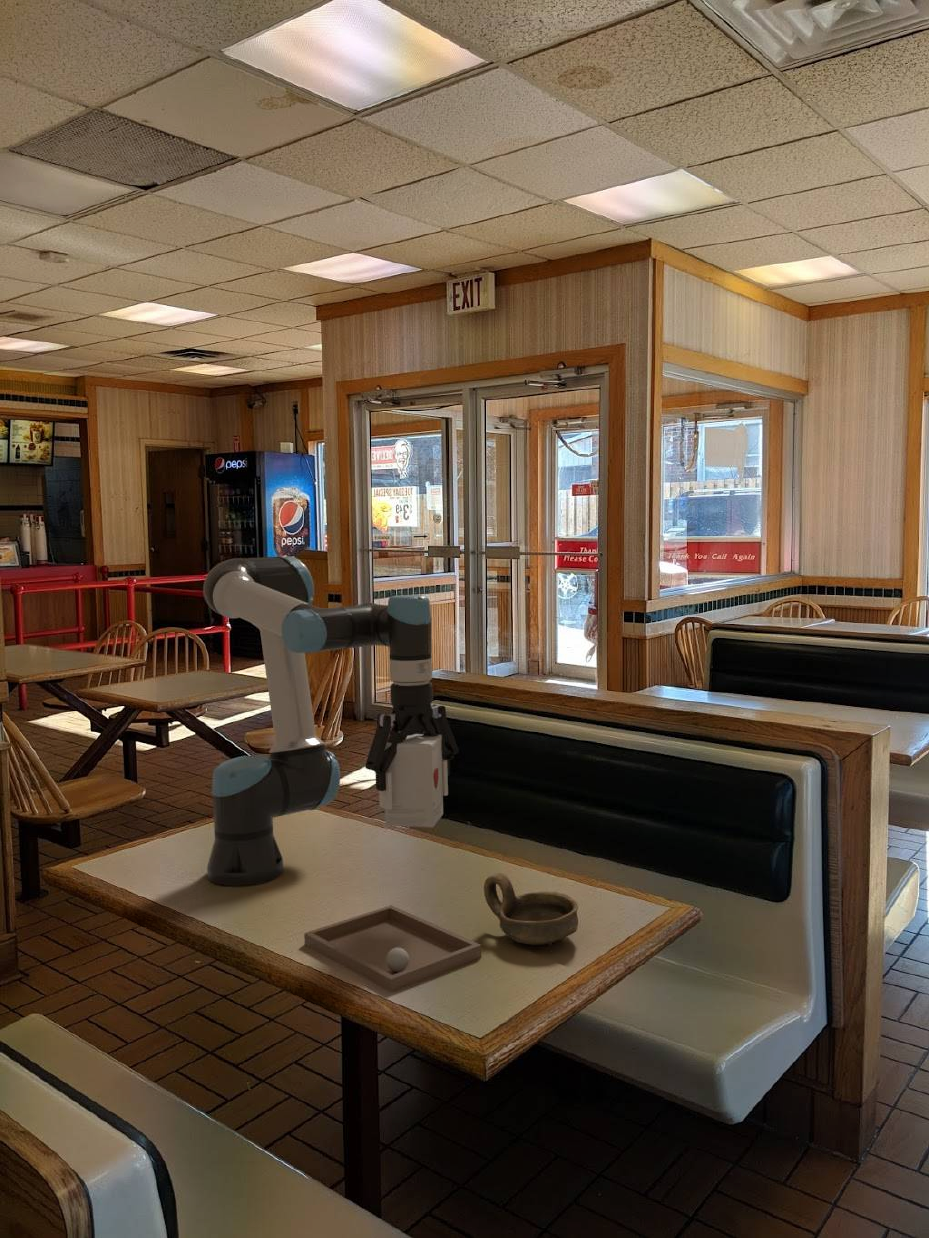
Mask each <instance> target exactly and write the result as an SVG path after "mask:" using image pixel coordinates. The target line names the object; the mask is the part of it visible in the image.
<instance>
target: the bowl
mask: <svg viewBox="0 0 929 1238" xmlns="http://www.w3.org/2000/svg"><path fill="white" fill-rule="evenodd" d="M497 885H498V886H499V888H500V891H501V895H502V900H500V897H499V895H498V892H497ZM483 894H484V898H485V900H486V903H487V905H488V907H489V909H490V910H491V911H492V913H493V914H494V915H495V916H496V917H497V918H498V920H499V927H500V930H501V931H502V932H504V934H505V935H506V936H507V937H508V938H510V939H511V940H513V941H514V942H516V943H521V944H524V945H525V944H526V945H533V946H534V945H536V946H537V945H538V946H541V945H542V946H543V945H550V946H551V945H552V944H553V943H555V942H557V941H559V940H562V939H565V938H567V937H569V936H572V935H573V934H575V933H576V932H577V930H578V925H579V917H578V908H579V904H578V902H577V901H576V900H575V899H573V898H572V897H571V896H569V895H568V894H565V893H560V892H556V891H536V892H530V893H529V892H528V893H527V892H526V893H524V894H521V895H517V896H516V894H515V890H514V887H513V884H512V882H511V880H510V878H509V876H507V875H506V874H504V873H502V872H495V873H493V874H492V875H489V876H488V877H487V878H486V879H485V881H484V885H483Z"/></svg>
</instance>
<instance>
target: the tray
mask: <svg viewBox="0 0 929 1238" xmlns="http://www.w3.org/2000/svg"><path fill="white" fill-rule="evenodd" d="M303 933H304V936H303V937H304V946H307V947H309V948H310V949H312V950H314V951H316V952H317V953H320V954H322V955H324V956H325V957H327V958H328V959H330V960H332V961H334V962H336V963H338V964H340V965H342V966H343V967H345V968H347V969H348V970H351V971H352V972H354V973H356V974H358V975H359V976H362V977H363V978H365V979H366V980H369V981H370V982H373V983H374V984H376V985H378V986H380V987H381V988H383V989H385V990H387V991H389V992H390V993H391V992H392V993H393V992H395V991H397V990H400V989H402V988H405V987H409V986H410V985H413V984H416V983H418V982H420V981H423V980H425V979H429V978H430V977H433V976H436V975H439V974H441V973H444V972H446V971H448V970H452V969H454V968H456V967H459V966H461V965H464V964H466V963H469V962H471V961H474V960H476V959H479V958H482V956H483V955H482V944H480V943H477V942H476V941H474V940H471V939H468V938H467V937H464V936H462V935H459V934H457V933H455V932H453V931H451V930H449V929H446V928H444V927H442V926H439V925H437V924H436V923H432V922H430V921H428V920H426V919H423V918H421V917H419V916H416V915H414V914H412V913H411V912H408V911H405V910H404V909H401V908H398V907H397V906H393V905H392V904H391V905H388V906H385V907H382V908H377V909H375V910H372V911H368V912H366V913H363V914H360V915H356V916H353V917H350V918H347V919H344V920H341V921H337V922H334V923H331V924H328V925H326V926H322V927H319V928H316V929H313V930H310V931H306V932H303ZM393 948H402V949H404V950H405V951H406V952H407V953H408V956H409V964H408V966H407V967H406V969H404V970H403V971H401V972H394V971H392V970H390V969H389V968H388V966H387V964H386V956H387V954H388V952H389V951H390V950H392V949H393Z"/></svg>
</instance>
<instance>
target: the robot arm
mask: <svg viewBox="0 0 929 1238" xmlns="http://www.w3.org/2000/svg"><path fill="white" fill-rule="evenodd" d="M202 589H203V590H202V591H203V593H202V594H203V597H204V600H205V603H206V604H207V605H208V607H209V608H210V609H211V610H212V611H214V612H215V613H217V614H219V615H221V616H223V617H225V618H228V619H239V618H240V619H242V620H244V621H247V622H248V623H251V624H252V625H253V626H255V627H256V628H257V629H258V630H259V632H260V638H261V646H262V652H263V653H262V655H263V661H264V669H265V675H266V677H265V678H266V684H267V691H268V698H269V705H270V712H271V719H272V727H273V734H274V740H275V741H274V744H273V745H272V747H271V748H270V750H269V756H267V755H263V754H251V755H241V756H238V757H235V758H234V757H233V758H231V759H228V760H225V761H224V762H222V763H220V764H218V766H217V767H215V769H214V771H213V772H212V773H213V774H212V785H211V786H212V787H211V794H212V805H213V825H214V829H213V830H214V841H213V845H212V848H211V852H210V855H209V859H208V863H207V867H206V868H207V872H206V873H207V874H206V875H207V880H209V881H210V882H211V883H213V884H216V885H221V886H226V887H228V886H229V887H241V886H244V887H245V886H253V885H259V884H263V883H267V882H269V881H272V880H275V879H276V878H278V877H280V876H281V875H282V874H283V873H284V860H283V856H282V853H281V851H280V848H279V846H278V842H277V840H276V837H275V834H274V824H273V823H274V818H278V817H281V816H286V815H292V814H296V813H299V812H300V813H301V812H304V811H305V812H306V811H314V810H316V809H318V808H322V807H325V806H327V805H329V804H331V802H333V800H334V799H335V797H336V795H337V794H338V791H339V788H340V783H341V770H340V769H341V768H340V765H339V761H338V760H337V759H336V755H335V754H334V753H333V752H332V751H329V750H327V749H326V745H325V742H324V741H323V740H321V738H319V737H318V736H317V732H316V727H315V725H316V724H315V719H314V712H313V705H312V703H313V702H312V698H311V691H310V690H311V689H310V683H309V676H308V668H307V661H306V654H313V653H317V652H326V651H327V652H329V651H334V650H343V649H344V650H345V649H352V648H364V647H372V646H373V647H374V646H375V647H376V646H380V647H381V646H382V647H388V648H389V649H388V650H389V680H390V681H391V682H392V683H391V685H389V687H390V691H389V692H390V703H391V706H392V711H391V714H385V713H378V714H377V717H376V720H377V721H376V730H375V732H374V736H373V739H372V743H371V746H370V749H369V752H368V754H367V759H366V761H365V764H364V767H365V769H366V770H369V771H374V774H375V788H376V790H377V791H378V794H379V795H378V799H379V803H378V804H379V808H381V809H384V810H385V809H388V810H390V809H392V780H391V772H388V771H387V770H388V768H389V766H390V765H391V763H392V761H393V759H394V757H395V755H396V753H397V745H398V744H399V743H402V742H403V740H405V739H406V738H407V736H408V735H409V736H410V735H414V734H423V735H426V736H431V737H434V736H438V735H442V740H441V751H442V778H443V797H445V796H448V795H449V785H448V782H449V780H448V776H450V775H451V774H450V773H451V765H450V763H451V762H450V761H452V760H454V758H455V755H457V754H458V753H459V747H458V745H457V742H456V740H455V737H454V734H453V731H452V728H451V726H450V724H449V721H448V718H447V711H446V710H447V709H446V708H447V707H446V706H445V705H441V704H433V705H431V704H432V703H433V701H434V696H433V694H434V693H433V692H434V691H433V689H434V688H433V684H432V682H430V681H431V680H432V679H433V662H432V661H433V659H432V645H433V644H432V620H433V618H432V614H431V604H430V603H431V601H430V599H429V598H428V596H427V595H421V594H399V595H392V596H390V597H389V598H388V600H387V604H378V603H373V602H371V603H361V604H360V603H359V604H356V605H353V606H352V605H351V606H339V607H328V608H327V607H325V608H324V607H319V606H316V605H313V601H314V595H315V585H314V580H313V577H312V574H311V572H310V570H309V569H308V567H307V565H306V564H304V563H303V561H302V560H300V559H298V558H296V557H293V556H288V557H287V556H280V555H278V556H264V557H248V558H247V557H243V558H242V557H239V558H237V557H236V558H230V559H226V560H224V561H221V562H219V563H217V564H216V565H215V566H214V567H213V568H211V570H209V572H208V573H207V574H206V576H205V579H204V582H203V587H202ZM431 719H433V722H434V725H435V726H434V725H433V724H432V722H431ZM435 727H436V728H435ZM436 730H437V732H436ZM387 742H389V743H392V744H391V746H390V747H389V748H387V749H386V750H385V747H386V744H387Z"/></svg>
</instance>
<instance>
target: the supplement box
mask: <svg viewBox="0 0 929 1238" xmlns="http://www.w3.org/2000/svg"><path fill="white" fill-rule="evenodd" d="M437 735H438V736H434V737H431V736H426V735H423V734H422V733H421V734H418V733H416V734H414V735H410V736H409V735H408V736H407V738H406V739H405V740H403V742H402V743H399V744H398V745H397V753H396V755H395V757H394V759H393V761H392V763H391V765H390V766H389V768H388V770H387V771H388V772H391V780H392V809H390V810H388V809H385V808H384V824H385V826H391V827H393V826H394V827H413V828H414V827H417V828H418V827H419V828H431V829H432V828H434V827H435V825H436V824H437V823H438V821H439V820H440V819H441V817H442V816H443V815H444V796H443V778H442V751H441V740H442V735H439V734H437ZM391 744H392V743H389V742H387V744H386V747H385V750H386V749H387V748H389V747H390V746H391Z"/></svg>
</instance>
